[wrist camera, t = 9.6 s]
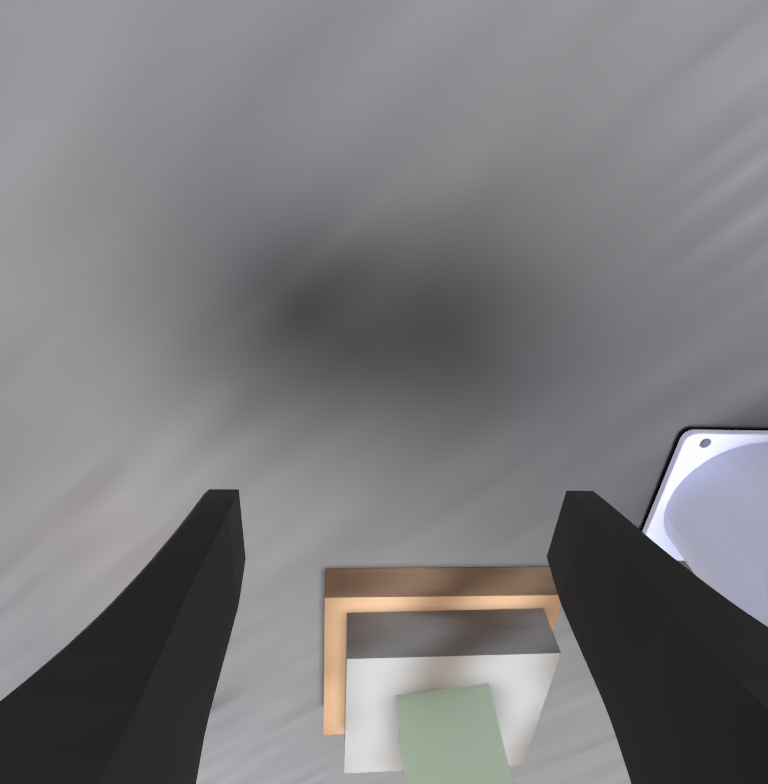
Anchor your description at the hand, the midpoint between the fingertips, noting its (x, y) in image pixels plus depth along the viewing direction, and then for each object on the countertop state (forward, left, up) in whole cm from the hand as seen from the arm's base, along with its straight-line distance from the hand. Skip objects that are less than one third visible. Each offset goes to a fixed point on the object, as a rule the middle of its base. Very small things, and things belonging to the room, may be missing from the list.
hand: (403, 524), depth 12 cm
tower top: (-4, +19, -9) cm, 21 cm away
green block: (-4, +19, -6) cm, 20 cm away
